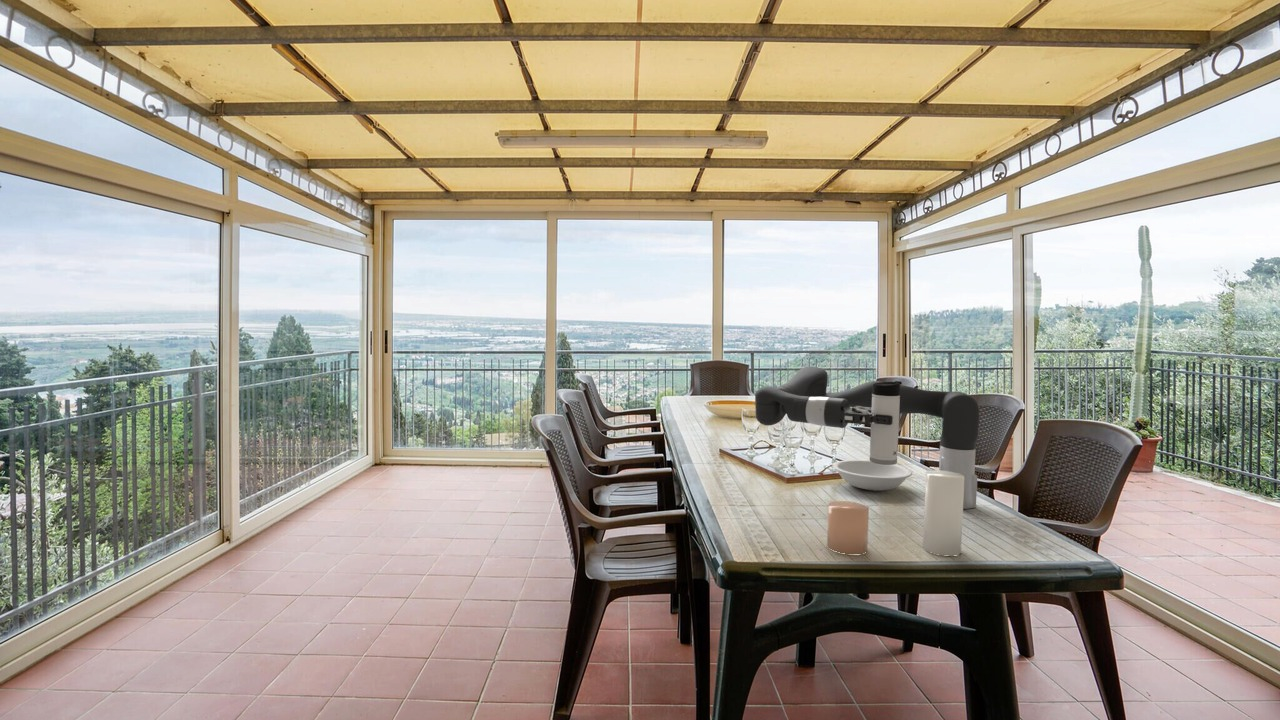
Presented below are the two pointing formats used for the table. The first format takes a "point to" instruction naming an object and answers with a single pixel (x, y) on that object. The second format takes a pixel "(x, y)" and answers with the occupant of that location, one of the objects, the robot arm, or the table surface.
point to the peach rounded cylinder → (847, 527)
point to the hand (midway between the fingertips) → (895, 418)
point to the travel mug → (881, 434)
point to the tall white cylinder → (943, 512)
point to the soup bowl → (872, 474)
